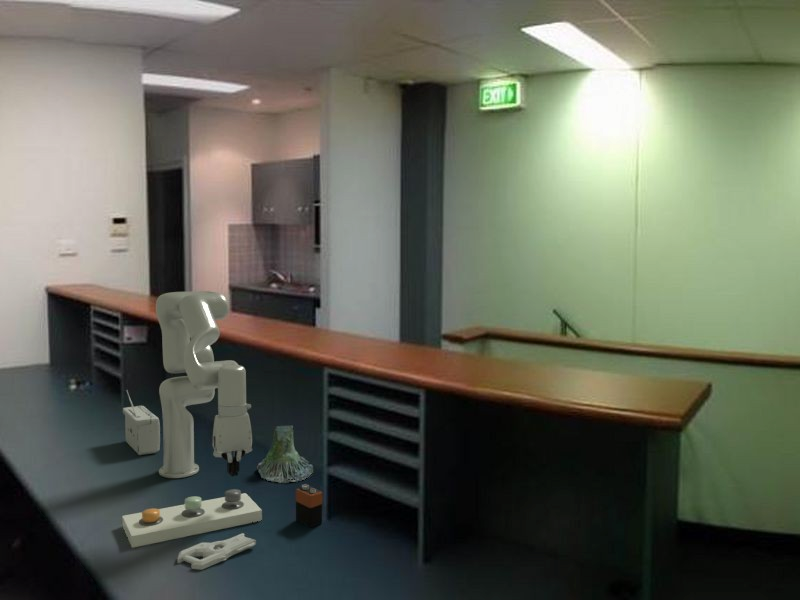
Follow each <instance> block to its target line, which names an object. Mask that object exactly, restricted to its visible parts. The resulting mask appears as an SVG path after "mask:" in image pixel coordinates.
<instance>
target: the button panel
mask: <svg viewBox="0 0 800 600" xmlns="http://www.w3.org/2000/svg"><path fill="white" fill-rule="evenodd" d="M201 504H202V506H201V507H200V508H199V509H195V510H187V509H185V503H183V504H180V505H179V504H178V505H174V506H168V507H164V508H158V509H159V510H160V519H159V520H158V521H155V522H151V523H146V522H143V521H142V512H143V511H141V512H135V513H131V514H125V515H122V518H121V519H122V528H123V530H125V531H124V533H125V534H126V537H128V538H127V540H128V542H129V544H130V546H131V548H132V549H133V548H137V547H142V546H147V545H151V544H156V543H161V542H166V541H171V540H175V539H176V540H177V539H181V538H185V537H189V536H194V535H200V534H205V533H209V532H214V531H220V530H223V529H228V528H233V527H237V526H242V525H248V524H252V522H253V523H256V522H257V521H258V522H262V521H263V510H262V508H261V507H259V505H258V504H257V503H256V502H255V501H254V500H253V499H252V498H251V496H249V495H248V494H247V493H246V492H245V493H244V492H243V493H241V500H239V501H237V502H226V501H225V496H223V497H218V498H212V499H206V500H201ZM261 520H262V521H261Z"/></svg>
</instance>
